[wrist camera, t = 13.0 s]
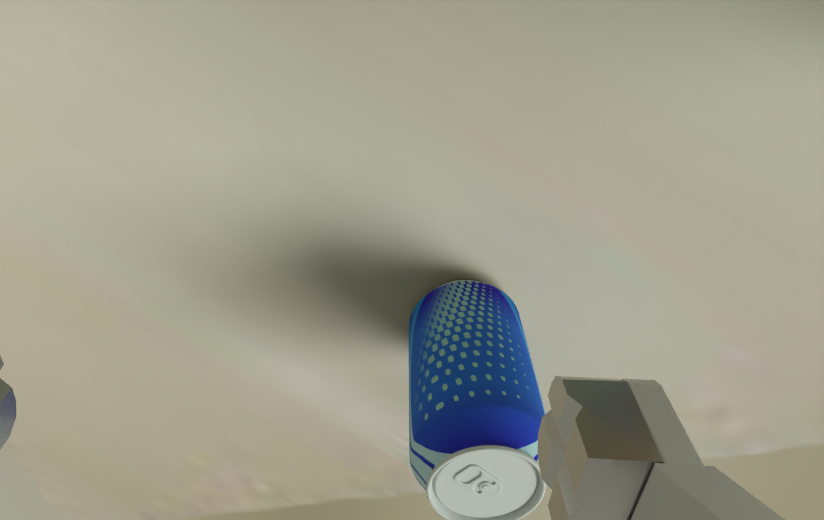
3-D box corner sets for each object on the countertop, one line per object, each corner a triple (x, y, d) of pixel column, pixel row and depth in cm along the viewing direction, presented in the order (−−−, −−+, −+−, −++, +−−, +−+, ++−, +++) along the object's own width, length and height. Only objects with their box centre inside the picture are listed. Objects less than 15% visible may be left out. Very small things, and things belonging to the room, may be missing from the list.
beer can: (516, 265, 45) (564, 430, 31) (518, 353, 49) (561, 532, 35) (402, 276, 45) (401, 443, 31) (414, 362, 49) (417, 542, 36)
